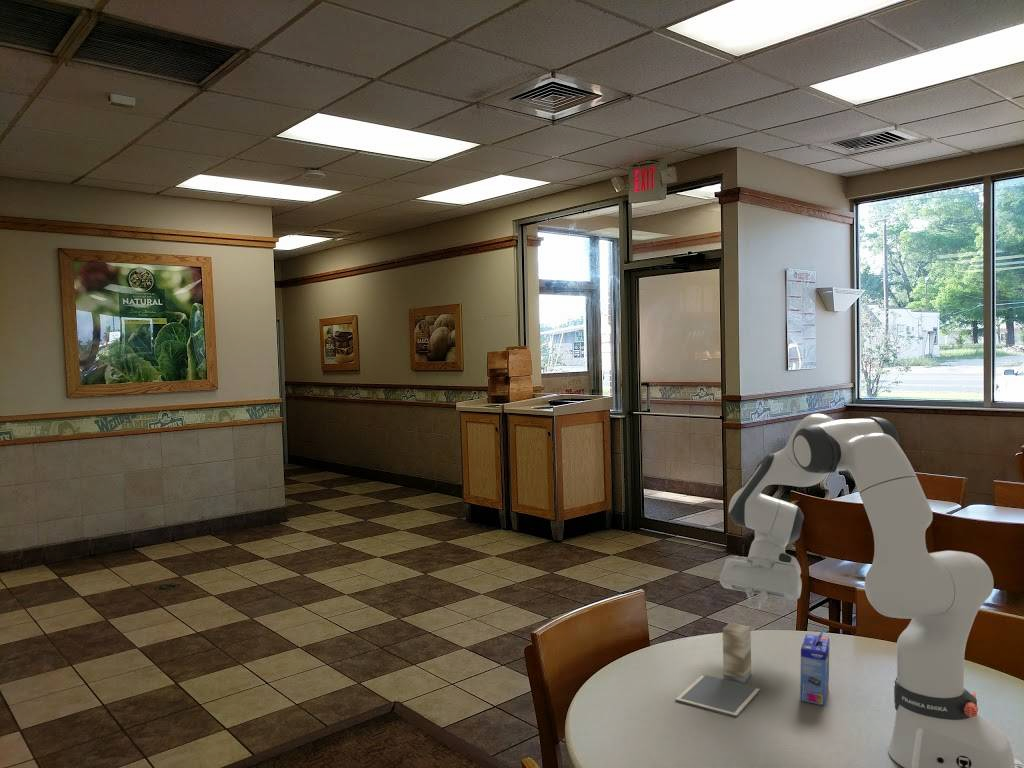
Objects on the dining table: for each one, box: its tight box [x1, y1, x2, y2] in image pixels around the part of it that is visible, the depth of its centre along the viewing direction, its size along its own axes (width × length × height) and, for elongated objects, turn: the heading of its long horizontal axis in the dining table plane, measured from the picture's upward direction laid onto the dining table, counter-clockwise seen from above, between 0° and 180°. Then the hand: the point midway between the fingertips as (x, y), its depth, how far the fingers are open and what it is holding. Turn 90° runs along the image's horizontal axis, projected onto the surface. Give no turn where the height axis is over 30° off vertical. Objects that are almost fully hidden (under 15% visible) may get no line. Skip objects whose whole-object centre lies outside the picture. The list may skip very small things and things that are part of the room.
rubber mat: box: [674, 674, 762, 718], centre depth 170 cm, size 14×16×1 cm
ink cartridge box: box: [799, 630, 830, 706], centre depth 169 cm, size 10×6×14 cm, turn 152°
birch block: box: [722, 622, 752, 684], centre depth 180 cm, size 5×5×12 cm
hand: (753, 607), depth 189 cm, fingers closed
